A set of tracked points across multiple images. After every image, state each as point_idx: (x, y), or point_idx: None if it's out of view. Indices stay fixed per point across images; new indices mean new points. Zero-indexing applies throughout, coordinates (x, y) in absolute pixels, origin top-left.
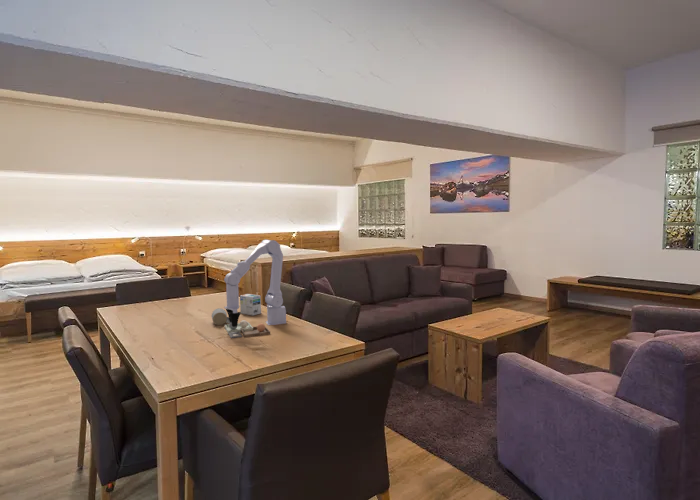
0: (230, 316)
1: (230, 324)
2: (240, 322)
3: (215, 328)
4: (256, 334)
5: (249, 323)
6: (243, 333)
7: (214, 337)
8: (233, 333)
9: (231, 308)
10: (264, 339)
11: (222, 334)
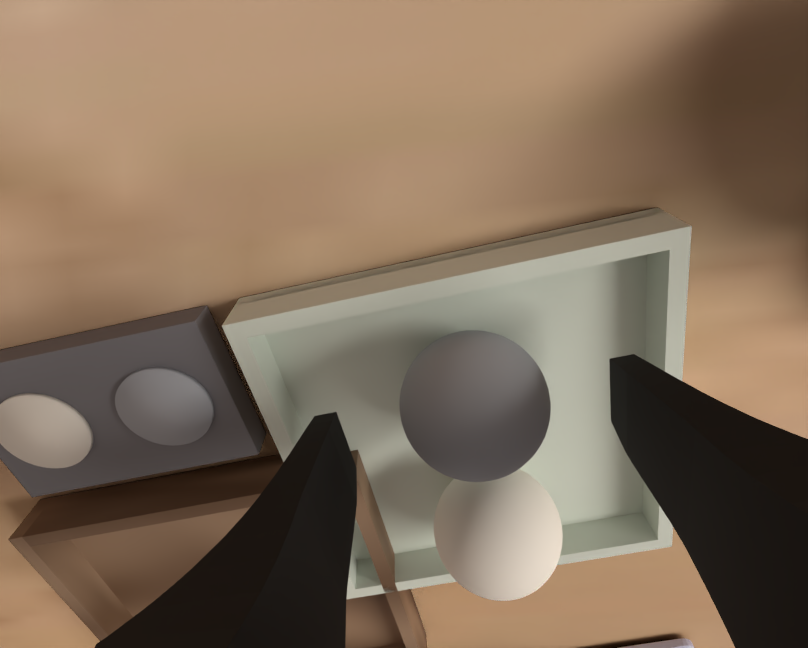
0: (152, 609)
1: (428, 385)
2: (485, 525)
3: (723, 13)
4: (101, 617)
5: (592, 557)
6: (77, 525)
7: (37, 76)
8: (124, 402)
9: None
10: (29, 642)
11: (240, 209)
